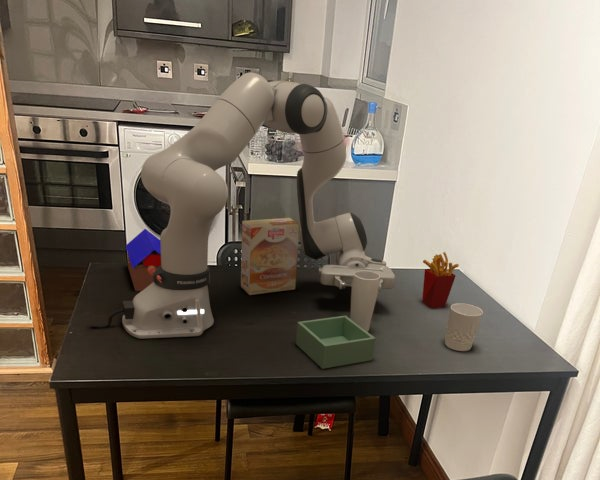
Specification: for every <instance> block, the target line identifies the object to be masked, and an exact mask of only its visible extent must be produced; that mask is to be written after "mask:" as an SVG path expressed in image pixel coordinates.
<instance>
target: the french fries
mask: <svg viewBox="0 0 600 480" xmlns="http://www.w3.org/2000/svg"><path fill="white" fill-rule="evenodd" d="M444 259H445V260H444ZM422 263H423V264H425V265H426V266H427V267H428V268H425V269H424V274H423V288H422V297H421V298H422V299H421V302H422V303H423V304H424V305H425V306H427V307H429V308H430V309H438V308H446V306H447V305H446V304H447V302H448V299H449V296H450V293H451V290H452V289H453V288H452V287H453V285H454V281H455V279H456V274H455V273H453V271H454V269H456V268H458V267H460V264H459V263H455V264H453V262H449V259H448V255H447V253H446V252H445V251H443V252H442V253H440V254H437V253H436V254H435V255H434V256H433V258H432V261H431V262H429V260H426V259H423V261H422Z"/></svg>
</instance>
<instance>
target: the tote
mask: <svg viewBox="0 0 600 480" xmlns="http://www.w3.org/2000/svg"><path fill="white" fill-rule="evenodd" d="M376 339H377V338H376V337H375V336H374V335H372V334H371V333H369V331H368V332H367V331H366V330H364V329H363V328H362V327H360V326H359V325H358V324H356V323H355V322H354V321H352V320H351V319H350V317H349V316H347V315H341V316H339V315H338V316H331V317H325V318H317V319H311V320H302V321H297V324H296V335H295V345H296V346H297V347H299V348H300V349H301V350H302V352H304V353H305V354H306V355H307V356H308V357H309V358H310V359H311V360H312V361H313V362H314V363H315V364H317V366H319V368H321V369H322V370H324V369H330V368H335V367H341V366H347V365H352V364H359V363H365V362H370V361H373V357H374V351H375V346H376Z"/></svg>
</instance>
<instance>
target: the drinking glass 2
mask: <svg viewBox="0 0 600 480" xmlns="http://www.w3.org/2000/svg"><path fill="white" fill-rule="evenodd" d="M379 283H380V275H379V274H377V273H375V272H371V271H356V272H355V273H354V276H353V281H352V287H351V291H350V312H349V313H350V314H349V318H350V319H351V320H352V321H354V322H355V323H356V324H358V325H359V326H360V327H362V328H363V329H364V330H366V331H367V332H368V333H369V331H370V328H371V324H372V323H371V322H372V319H373V314H374V312H375V311H374V310H375V307H376V302H377V298H378V295H379V292H378V290H379Z"/></svg>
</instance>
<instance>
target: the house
mask: <svg viewBox="0 0 600 480" xmlns="http://www.w3.org/2000/svg"><path fill="white" fill-rule="evenodd" d="M125 249H126V255H127V269H128V272H129V275H130V279H131V281H132V285H133V288H134V291H135V292H141V291H142V290H144V289H145V288H146V287H148V286H149V285H150V284H151V283H153V282H154V279H153V276H152V275H150V274H149V272H148V270H147V269H148V268H149V266H154V267H155V268H156V269H158V268H159V267H160V266H161V246H160V238H159V237H157V236H156V235H154V234H153V233H151V232H150V231H149V230H148V229H146V228H144V229H143V230H142V231H141V232H139V233H138V234H137V235H136V236H135V237H133V238H132V239H131V240H130V241H128V243H127V244H126V245H125Z"/></svg>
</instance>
